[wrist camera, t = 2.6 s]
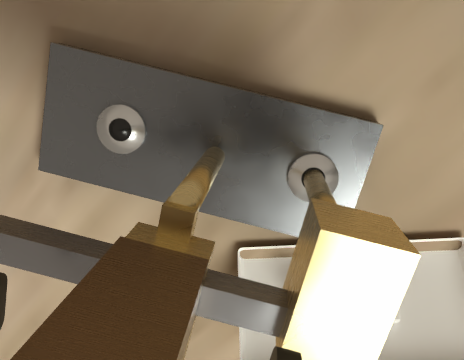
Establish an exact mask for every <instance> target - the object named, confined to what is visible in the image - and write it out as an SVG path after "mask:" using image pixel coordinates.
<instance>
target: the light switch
mask: <svg viewBox="0 0 464 360" xmlns="http://www.w3.org/2000/svg"><path fill="white" fill-rule="evenodd" d="M448 240H459V241H461V242H462V246H461V248H460V249H458V250H445V251H422V252H419V253H420V254H421V256H420V259H419V261H418V264H417V266H416V268H415V271H414V273H413V276H412V278H411V280H410V283H409V285H408V288H407V290H406V292H405V295H404V297H403V299H402V302H401V304H400V307H399V309H398V311H397V314H396V316H395V319H394V321H393V323H392V326H391V328H390V331H389V333H388V335H387V338H386V340H385V343H384V345H383V347H382V350H381V352H380V354H379V357H378V359H377V360H464V238H441V239H419V240H409V241H410V242H426V241H448ZM292 247H296V245H288V246H267V247H245V248H240V249H239V250H238V277H240V278H244V279H248V280H252V281H256V282H259V283H263V284H267V285H271V286H275V287H278V288H283V285H284V282H285V279H286V276H287V272H288V269H289V266H290V263H291V260H292V257H283V258H260V259H243V258H241V257H240V251H242V250H248V249H270V248H292ZM239 335H240V360H270V357H271V354H272V351H273V349H274V347H275V346H276V337H275V336H271V335H268V334H264V333H260V332H256V331H253V330H249V329H245V328H241V327H239Z"/></svg>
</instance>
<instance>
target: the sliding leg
mask: <svg viewBox="0 0 464 360" xmlns="http://www.w3.org/2000/svg"><path fill="white" fill-rule="evenodd" d="M224 159H225V154H224V152H223V150H222V149H221V148H219V147H215V146H213V147H210V148H208V149H207V150H206V152H205V153H204V154H203V155H202V157H201V158H200V159H199V160H198V162H197V163H196V164H195V166H194V167H193V168H192V169H191V171H190V172H189V173H188V174H187V176H186V177H185V178H184V180H183V181H182V182H181V183H180V185H179V186H178V187H177V188H176V190H175V191H174V192H173V194H172V195H171V196H169V197H168V199H167V200H166V201H165V202H164V204H163V205H162V209H161V215H160V220H159V225H158V227H156V226H152V225H148V224H144V223H141V222H138V223H137V224H136V226H135V227H134V228H133V229H132V230H131V231H130V233H129V234H128V235H127V236H126V237H121V236H120V238H119V239H118V240H117V241H116V242H115V243H114V244H113V245H112V247H111V248H110V249H109V250H108V251H107V252H106V253H105V254H104V255H103V257H102V258H101V259H100V260H99V261H98V262H97V263H96V264H95V266H94V267H93V268H92V269H91V270H90V271H89V272H88V273H87V274H86V276H85V277H84V278H83V279H82V280H81V281H80V282H79V283H78V285H77V286H76V287H75V288H74V289H73V290H72V291H71V292H70V294H69V295H68V296H67V297H66V298H65V299H64V300H63V301H62V302H61V304H60V305H59V306H58V307H57V308H56V309H55V310H54V311H53V313H52V314H51V315H50V316H49V317H48V318H47V319H46V320H45V321H44V323H43V324H42V325H41V326H40V327H39V328H38V329H37V330H36V332H35V333H34V334H33V335H32V336H31V337H30V338H29V339H28V340H27V342H26V343H25V344H24V345H23V346H22V347H21V348H20V349H19V351H18V352H17V353H16V354H15V355H14V356H13V357H12V358H11V359H10V360H184V358H185V354H186V351H187V348H188V343H189V340H190V337H191V333H192V330H193V326H194V323H195V320H196V311H197V307H198V303H199V299H200V294H201V290H202V286H203V282H204V279H205V276H206V273H207V270H208V267H209V263H210V260H211V257H212V253H213V249H214V245H215V242H214V241H210V240H206V239H202V238H198V237H194V236H193V234H194V229H195V225H196V220H197V216H198V212H199V209H200V207H201V205H202V203H203V201H204V199H205V197H206V195H207V193H208V191H209V189H210V187H211V185H212V183H213V181H214V179H215V178H216V176H217V174H218V172H219V170H220V168H221V166H222V164H223V162H224Z"/></svg>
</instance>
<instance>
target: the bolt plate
mask: <svg viewBox="0 0 464 360" xmlns="http://www.w3.org/2000/svg"><path fill="white" fill-rule="evenodd" d="M382 128H383V125H382V124H380V123H377V122H373V121H369V120H365V119H361V118H357V117H353V116H349V115H345V114H341V113H337V112H333V111H329V110H325V109H321V108H317V107H313V106H309V105H305V104H301V103H297V102H293V101H289V100H285V99H281V98H277V97H273V96H269V95H265V94H261V93H257V92H253V91H249V90H245V89H241V88H237V87H233V86H229V85H225V84H221V83H217V82H213V81H209V80H205V79H201V78H197V77H193V76H189V75H185V74H181V73H177V72H173V71H169V70H165V69H161V68H157V67H153V66H149V65H145V64H141V63H137V62H133V61H129V60H125V59H121V58H117V57H113V56H109V55H105V54H101V53H97V52H93V51H89V50H85V49H81V48H77V47H73V46H69V45H65V44H60V43H51V45H50V55H49V66H48V76H47V86H46V97H45V107H44V117H43V127H42V138H41V148H40V158H39V168H38V170H40V171H44V172H48V173H52V174H56V175H60V176H63V177H67V178H71V179H75V180H79V181H83V182H87V183H91V184H94V185H98V186H102V187H106V188H110V189H114V190H118V191H122V192H125V193H129V194H133V195H137V196H141V197H145V198H149V199H153V200H156V201H160V202H165V201H166V200H167V199H168V197H169V196H171V195H172V194H173V192H174V191H175V190H176V188H177V187H178V186H179V185H180V183H181V182H182V181H183V180H184V178H185V177H186V176H187V174H188V173H189V172H190V171H191V169H192V168H193V167H194V166H195V164H196V163H197V162H198V160H199V159H200V158H201V157H202V155H203V154H204V153H205V152H206V150H207V149H208V148H210V147H213V146H215V147H219V148H221V149H222V150H223V152H224V154H225V159H224V162H223V164H222V166H221V168H220V170H219V172H218V174H217V176H216V178H215V179H214V181H213V183H212V185H211V187H210V189H209V191H208V193H207V195H206V197H205V199H204V201H203V203H202V205H201V207H200V209H199V212H203V213H207V214H211V215H215V216H218V217H222V218H226V219H230V220H234V221H238V222H242V223H245V224H249V225H253V226H257V227H261V228H265V229H269V230H273V231H276V232H280V233H284V234H288V235H292V236H296V237H299V234H300V231H301V228H302V224H303V221H304V218H305V215H306V212H307V208H308V205H309V199H308V196H307V192H306V189H305V185H304V182H303V177H304V175H305V173H306V172H307V171H309V170H312V169H315V170H318V171H320V172H321V173H322V175H323V177H324V179H325V181H326V183H327V185H328V187H329V189H330V191H331V193H332V195H333V197H334V199H335V201H336V203H337V204H338V205H342V206H346V207H350V208H355V205H356V203H357V200H358V197H359V194H360V191H361V188H362V185H363V183H364V180H365V177H366V174H367V171H368V168H369V165H370V163H371V160H372V157H373V154H374V151H375V148H376V145H377V143H378V140H379V137H380V134H381V131H382Z"/></svg>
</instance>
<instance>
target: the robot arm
mask: <svg viewBox="0 0 464 360" xmlns="http://www.w3.org/2000/svg"><path fill="white" fill-rule="evenodd" d="M6 292H7V276H6V274H4V273H1V272H0V329H1V327H2V325H3V322H4V316H5V304H6ZM270 360H302V356H301V353H300V352H296V351H293V350H289V349H285V348H281V347H277V346H275V347H274V349H273V351H272V354H271V357H270Z"/></svg>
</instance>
